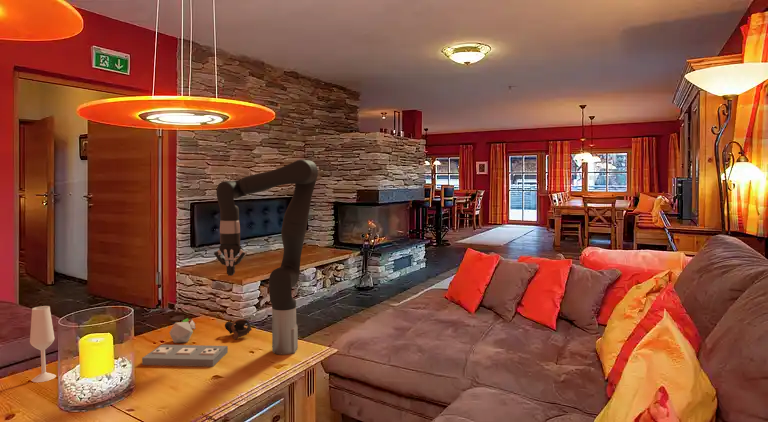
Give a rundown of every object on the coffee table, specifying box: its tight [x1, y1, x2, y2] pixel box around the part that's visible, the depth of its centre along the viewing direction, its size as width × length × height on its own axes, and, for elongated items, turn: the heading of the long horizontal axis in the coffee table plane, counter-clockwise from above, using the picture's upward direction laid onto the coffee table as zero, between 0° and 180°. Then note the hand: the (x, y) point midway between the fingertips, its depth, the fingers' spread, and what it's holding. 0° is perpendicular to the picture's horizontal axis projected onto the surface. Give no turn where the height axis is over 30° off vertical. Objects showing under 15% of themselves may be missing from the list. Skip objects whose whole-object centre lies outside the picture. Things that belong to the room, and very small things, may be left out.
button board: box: [141, 344, 229, 367], centre depth 178 cm, size 26×14×2 cm, turn 88°
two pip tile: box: [153, 346, 173, 354], centre depth 179 cm, size 5×5×3 cm
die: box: [169, 321, 194, 344], centre depth 196 cm, size 8×9×10 cm
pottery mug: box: [224, 318, 253, 340], centre depth 204 cm, size 12×10×8 cm
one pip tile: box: [177, 348, 196, 355], centre depth 178 cm, size 5×5×3 cm
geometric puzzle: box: [181, 317, 197, 332], centre depth 207 cm, size 7×7×8 cm
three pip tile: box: [201, 348, 219, 355], centre depth 178 cm, size 5×5×3 cm
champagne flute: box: [29, 305, 57, 383], centre depth 159 cm, size 7×7×24 cm
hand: (230, 275), depth 189 cm, fingers closed
